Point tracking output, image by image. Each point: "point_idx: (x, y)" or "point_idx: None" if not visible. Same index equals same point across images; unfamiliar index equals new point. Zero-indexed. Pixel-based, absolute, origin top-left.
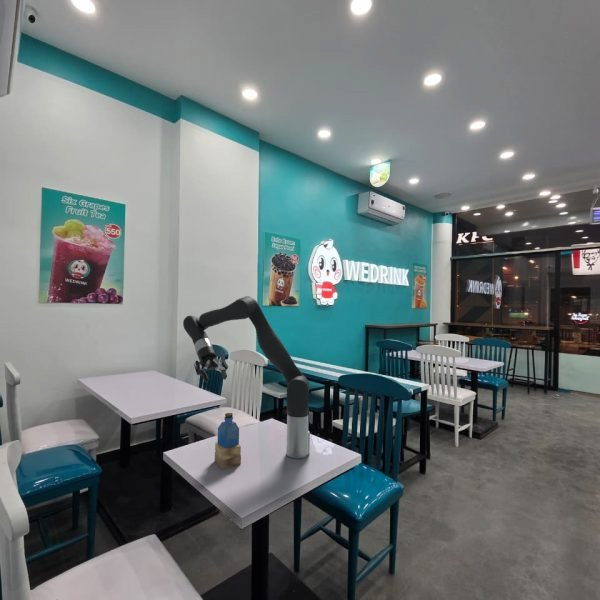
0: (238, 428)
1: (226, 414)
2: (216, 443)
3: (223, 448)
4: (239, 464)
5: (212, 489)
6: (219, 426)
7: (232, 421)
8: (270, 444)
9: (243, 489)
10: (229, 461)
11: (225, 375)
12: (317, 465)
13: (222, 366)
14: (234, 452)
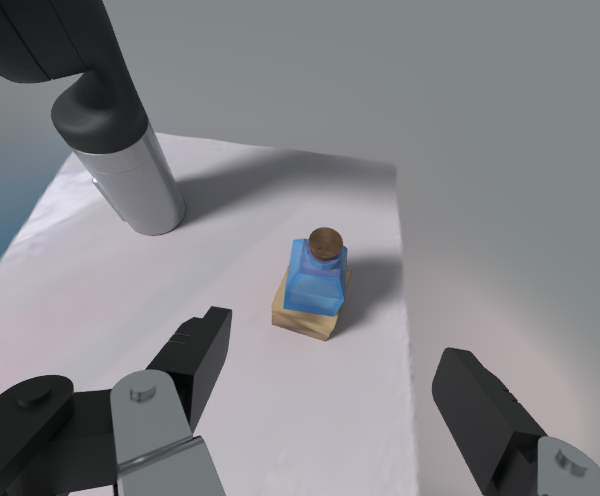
0: (295, 240)
1: (335, 245)
2: (336, 318)
3: None
4: None
5: (396, 242)
6: (342, 290)
7: (304, 254)
8: (137, 301)
9: (351, 203)
10: None
11: (218, 316)
12: (184, 158)
13: (118, 444)
14: None
